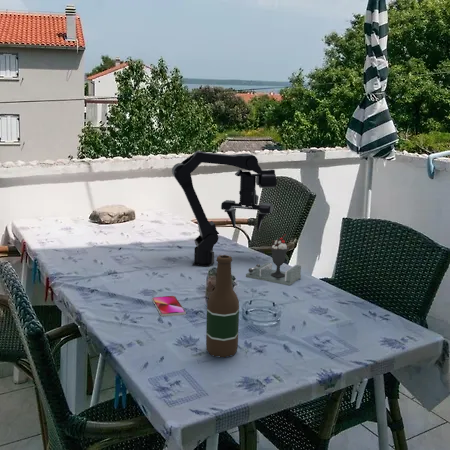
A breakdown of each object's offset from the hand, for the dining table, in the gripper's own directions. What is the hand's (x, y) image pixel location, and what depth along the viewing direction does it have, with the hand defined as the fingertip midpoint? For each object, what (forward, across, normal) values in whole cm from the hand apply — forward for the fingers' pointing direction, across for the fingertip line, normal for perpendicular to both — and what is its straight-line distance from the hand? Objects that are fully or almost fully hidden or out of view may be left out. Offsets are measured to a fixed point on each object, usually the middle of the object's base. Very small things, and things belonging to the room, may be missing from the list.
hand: (246, 229), depth 206 cm
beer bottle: (+13, -15, +76) cm, 79 cm away
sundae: (+12, -16, +14) cm, 24 cm away
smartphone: (+14, +9, +53) cm, 55 cm away
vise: (+13, -14, +14) cm, 24 cm away
